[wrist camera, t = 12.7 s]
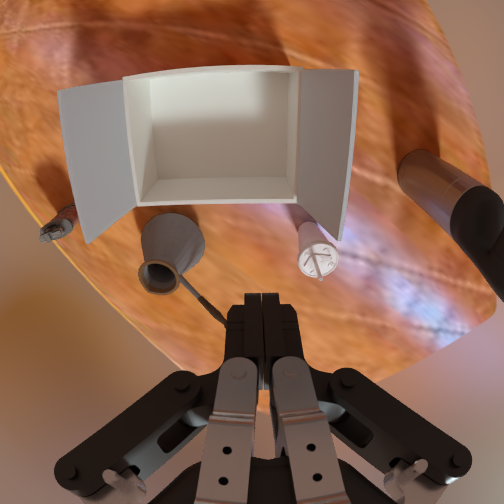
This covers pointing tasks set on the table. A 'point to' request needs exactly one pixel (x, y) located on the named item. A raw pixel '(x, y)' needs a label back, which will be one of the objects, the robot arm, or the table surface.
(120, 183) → the flap
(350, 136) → the flap
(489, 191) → the robot arm
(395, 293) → the table surface
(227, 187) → the carton
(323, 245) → the smoothie
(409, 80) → the table surface
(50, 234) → the lighter
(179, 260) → the coffee pot
